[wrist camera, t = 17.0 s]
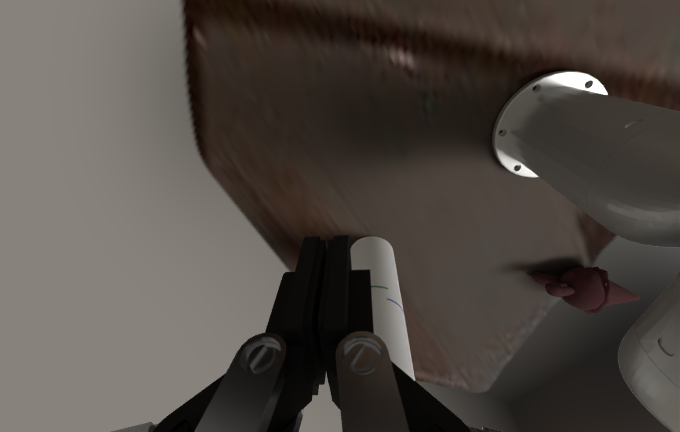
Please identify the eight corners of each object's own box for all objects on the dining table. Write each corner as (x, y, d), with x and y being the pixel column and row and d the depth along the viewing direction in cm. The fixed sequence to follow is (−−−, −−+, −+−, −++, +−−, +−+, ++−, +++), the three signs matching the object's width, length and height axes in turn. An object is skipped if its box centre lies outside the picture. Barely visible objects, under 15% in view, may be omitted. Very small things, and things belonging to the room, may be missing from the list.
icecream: (672, 288, 40) (560, 270, 41) (649, 332, 42) (543, 314, 43) (630, 266, 47) (534, 250, 48) (611, 305, 49) (520, 290, 50)
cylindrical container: (375, 276, 50) (389, 452, 29) (341, 257, 49) (328, 430, 27) (402, 250, 47) (440, 425, 26) (366, 228, 45) (375, 398, 24)
